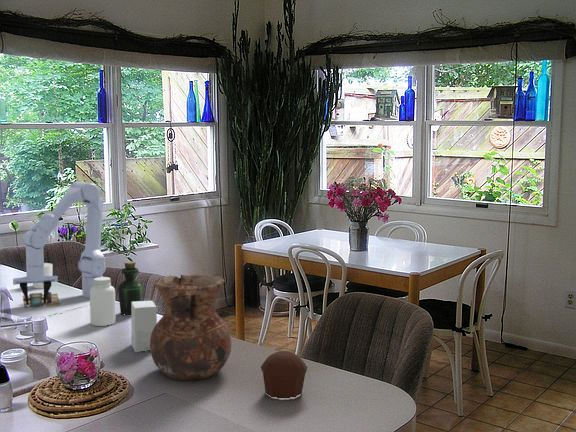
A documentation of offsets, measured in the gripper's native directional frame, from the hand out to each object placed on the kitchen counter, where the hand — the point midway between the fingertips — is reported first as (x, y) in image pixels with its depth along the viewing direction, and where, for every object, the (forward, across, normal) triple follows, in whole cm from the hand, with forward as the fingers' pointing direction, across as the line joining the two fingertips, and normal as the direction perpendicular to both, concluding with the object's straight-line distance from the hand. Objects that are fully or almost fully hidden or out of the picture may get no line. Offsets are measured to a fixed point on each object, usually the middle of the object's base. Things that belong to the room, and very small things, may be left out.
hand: (36, 303), depth 235 cm
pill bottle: (+2, -20, +25) cm, 32 cm away
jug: (+2, -35, +79) cm, 87 cm away
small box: (+2, -27, +55) cm, 61 cm away
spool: (+2, 0, 0) cm, 2 cm away
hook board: (+2, -2, -7) cm, 7 cm away
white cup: (+2, -4, -31) cm, 31 cm away
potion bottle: (+2, -30, +16) cm, 34 cm away
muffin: (+2, -52, +101) cm, 114 cm away
